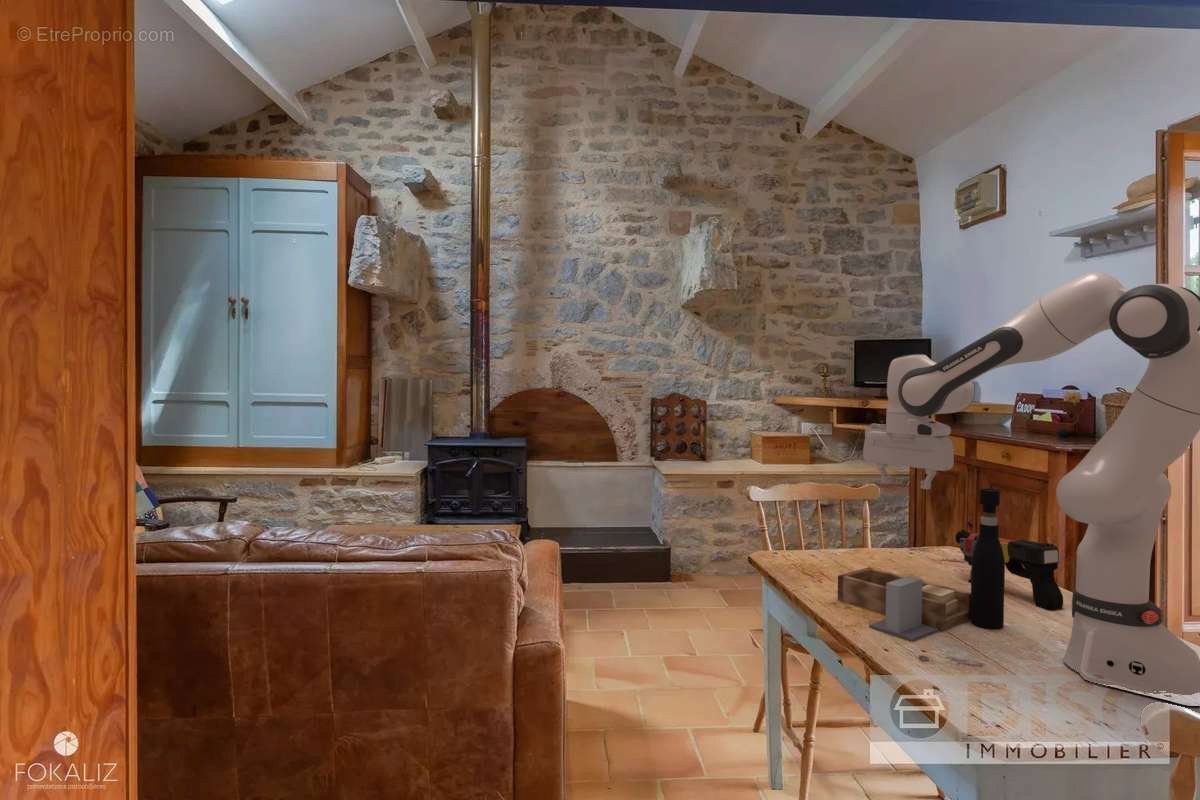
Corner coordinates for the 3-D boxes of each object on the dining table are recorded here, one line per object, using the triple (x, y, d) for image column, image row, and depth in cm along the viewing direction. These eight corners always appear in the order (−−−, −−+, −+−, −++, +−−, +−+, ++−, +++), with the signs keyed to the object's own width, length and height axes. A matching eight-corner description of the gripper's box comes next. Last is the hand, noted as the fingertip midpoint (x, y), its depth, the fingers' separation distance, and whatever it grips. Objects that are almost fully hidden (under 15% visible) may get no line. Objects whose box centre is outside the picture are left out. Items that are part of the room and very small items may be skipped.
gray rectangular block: (921, 624, 153) (922, 579, 152) (898, 633, 147) (899, 586, 147) (908, 620, 155) (909, 576, 155) (885, 629, 150) (886, 583, 149)
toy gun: (969, 582, 191) (967, 527, 192) (1067, 609, 165) (1065, 545, 165) (950, 584, 189) (949, 528, 190) (1046, 611, 163) (1044, 547, 163)
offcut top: (954, 599, 157) (954, 590, 157) (941, 605, 154) (941, 596, 154) (928, 593, 162) (928, 584, 162) (915, 598, 159) (915, 589, 159)
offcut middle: (957, 610, 157) (957, 600, 157) (942, 617, 153) (942, 606, 153) (927, 602, 163) (927, 592, 163) (911, 608, 159) (911, 598, 159)
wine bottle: (1007, 630, 151) (1011, 492, 150) (975, 628, 152) (978, 491, 151) (997, 620, 157) (1000, 487, 156) (966, 618, 158) (969, 486, 157)
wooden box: (971, 619, 158) (972, 593, 157) (941, 631, 150) (942, 604, 150) (868, 590, 179) (869, 567, 178) (837, 599, 171) (837, 575, 171)
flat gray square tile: (938, 631, 150) (938, 628, 150) (912, 641, 144) (912, 638, 144) (894, 618, 158) (895, 615, 158) (869, 627, 152) (869, 624, 152)
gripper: (858, 423, 166) (856, 481, 166) (943, 429, 149) (942, 493, 150) (873, 422, 169) (871, 478, 170) (958, 428, 153) (956, 490, 154)
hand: (905, 485), depth 160 cm, fingers open, 8 cm apart
